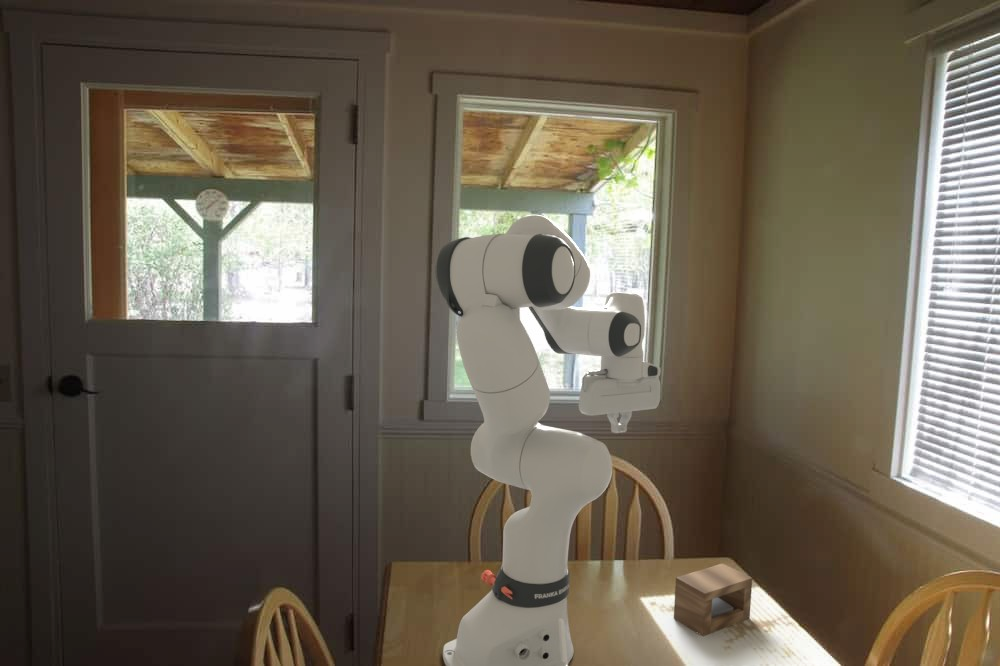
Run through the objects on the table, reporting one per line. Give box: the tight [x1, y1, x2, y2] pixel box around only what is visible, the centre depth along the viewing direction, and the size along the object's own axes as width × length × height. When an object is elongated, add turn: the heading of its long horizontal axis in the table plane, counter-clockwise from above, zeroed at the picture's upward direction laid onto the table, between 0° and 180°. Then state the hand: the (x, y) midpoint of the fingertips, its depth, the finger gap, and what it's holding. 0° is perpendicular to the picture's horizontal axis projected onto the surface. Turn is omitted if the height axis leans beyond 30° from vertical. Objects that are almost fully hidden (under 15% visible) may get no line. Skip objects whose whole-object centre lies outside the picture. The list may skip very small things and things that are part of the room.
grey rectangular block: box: [711, 597, 733, 618], centre depth 124 cm, size 6×9×3 cm, turn 25°
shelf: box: [673, 563, 753, 637], centre depth 122 cm, size 13×7×8 cm, turn 121°
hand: (618, 432), depth 138 cm, fingers closed
